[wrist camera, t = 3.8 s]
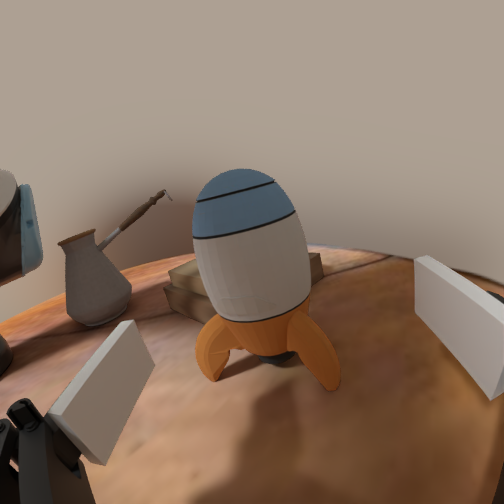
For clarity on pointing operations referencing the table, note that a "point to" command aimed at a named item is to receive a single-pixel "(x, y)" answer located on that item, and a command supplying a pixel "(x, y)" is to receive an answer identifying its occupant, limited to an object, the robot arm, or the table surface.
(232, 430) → the table surface
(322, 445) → the table surface
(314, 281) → the pad
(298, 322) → the toy rocket
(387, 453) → the table surface
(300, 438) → the table surface
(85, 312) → the coffee pot
